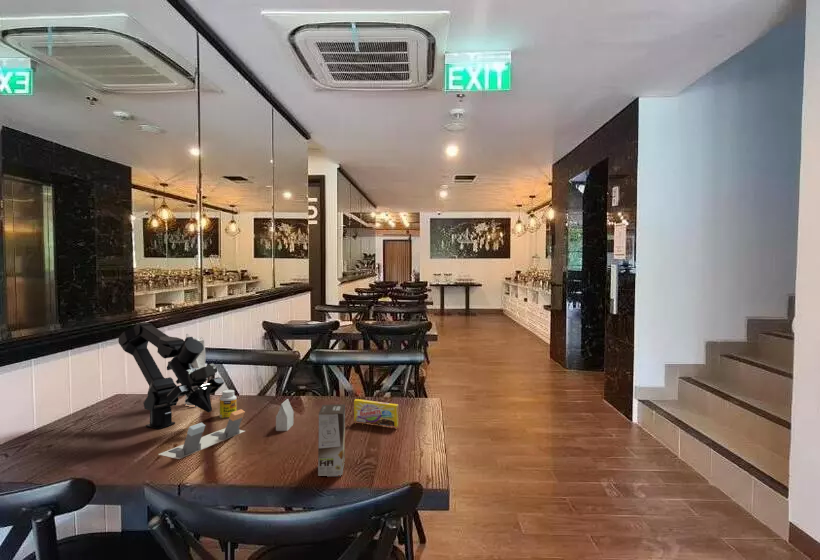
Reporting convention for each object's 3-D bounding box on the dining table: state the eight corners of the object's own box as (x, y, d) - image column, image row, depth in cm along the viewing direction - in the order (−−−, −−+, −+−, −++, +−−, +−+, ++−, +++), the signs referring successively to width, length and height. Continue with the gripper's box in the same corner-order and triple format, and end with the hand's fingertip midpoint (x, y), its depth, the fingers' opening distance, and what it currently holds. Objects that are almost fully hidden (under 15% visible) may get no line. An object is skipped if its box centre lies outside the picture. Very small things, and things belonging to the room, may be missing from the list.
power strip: (157, 459, 128) (157, 447, 128) (226, 432, 151) (226, 422, 151) (179, 464, 125) (179, 452, 125) (245, 435, 148) (245, 425, 148)
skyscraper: (178, 407, 180) (178, 334, 180) (191, 401, 188) (191, 332, 188) (197, 408, 179) (198, 335, 179) (210, 402, 187) (210, 333, 187)
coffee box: (343, 476, 118) (343, 413, 118) (317, 477, 118) (318, 413, 118) (345, 462, 127) (345, 403, 127) (321, 462, 127) (321, 404, 127)
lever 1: (180, 452, 127) (189, 426, 126) (193, 447, 131) (201, 422, 130) (184, 455, 127) (193, 429, 125) (197, 450, 130) (205, 425, 129)
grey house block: (293, 428, 155) (293, 398, 155) (287, 435, 148) (287, 404, 148) (282, 428, 155) (282, 398, 155) (275, 435, 148) (276, 404, 148)
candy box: (353, 423, 161) (353, 400, 161) (356, 422, 163) (356, 398, 163) (396, 430, 155) (396, 405, 155) (398, 428, 157) (399, 403, 157)
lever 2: (222, 435, 141) (231, 412, 140) (232, 431, 145) (241, 409, 143) (226, 438, 140) (235, 415, 139) (236, 434, 144) (245, 411, 143)
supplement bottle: (221, 423, 160) (221, 393, 160) (218, 419, 164) (218, 390, 164) (238, 420, 163) (238, 391, 163) (234, 416, 168) (234, 388, 167)
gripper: (176, 359, 139) (203, 401, 135) (221, 353, 157) (246, 390, 153) (155, 382, 142) (180, 424, 138) (201, 374, 159) (225, 410, 155)
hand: (210, 411), depth 146 cm, fingers closed
